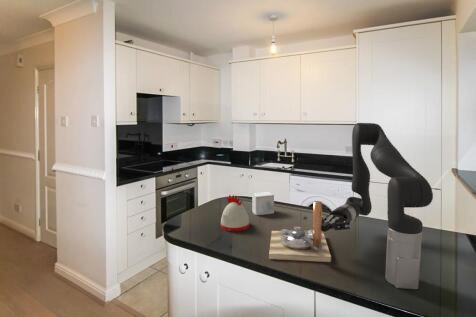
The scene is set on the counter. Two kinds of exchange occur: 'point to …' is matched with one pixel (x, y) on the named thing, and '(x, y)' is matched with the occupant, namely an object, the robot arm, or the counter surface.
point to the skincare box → (263, 203)
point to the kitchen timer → (234, 216)
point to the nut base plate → (297, 251)
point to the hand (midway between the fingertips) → (323, 228)
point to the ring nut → (305, 233)
